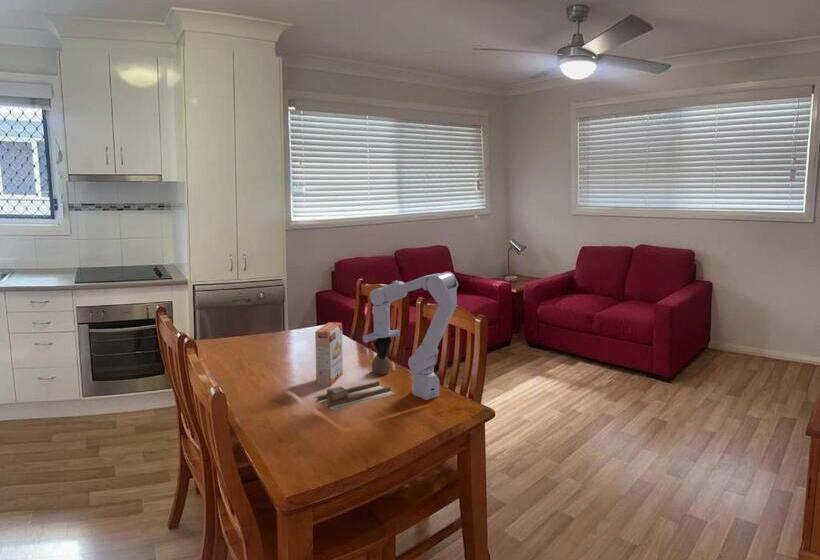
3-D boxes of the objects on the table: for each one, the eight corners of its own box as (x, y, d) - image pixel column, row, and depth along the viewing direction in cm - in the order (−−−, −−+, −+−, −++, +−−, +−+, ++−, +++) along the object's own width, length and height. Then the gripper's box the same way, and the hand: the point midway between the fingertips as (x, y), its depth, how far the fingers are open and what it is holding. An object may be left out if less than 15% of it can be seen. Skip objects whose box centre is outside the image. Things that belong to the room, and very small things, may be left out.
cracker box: (331, 389, 203) (330, 332, 200) (315, 388, 204) (313, 331, 201) (344, 375, 217) (342, 322, 213) (328, 374, 218) (327, 321, 214)
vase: (382, 379, 213) (382, 356, 211) (368, 375, 217) (367, 353, 215) (393, 374, 218) (393, 352, 217) (379, 370, 223) (379, 348, 221)
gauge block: (347, 400, 190) (347, 390, 190) (334, 404, 187) (334, 393, 187) (340, 395, 194) (340, 385, 194) (327, 399, 191) (327, 388, 191)
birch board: (395, 396, 196) (395, 390, 196) (333, 413, 182) (333, 407, 182) (373, 384, 208) (373, 378, 207) (313, 399, 194) (313, 393, 193)
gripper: (392, 316, 209) (392, 351, 212) (358, 322, 201) (358, 359, 203) (403, 319, 204) (403, 356, 206) (368, 326, 195) (369, 364, 198)
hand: (382, 358), depth 204 cm, fingers closed
